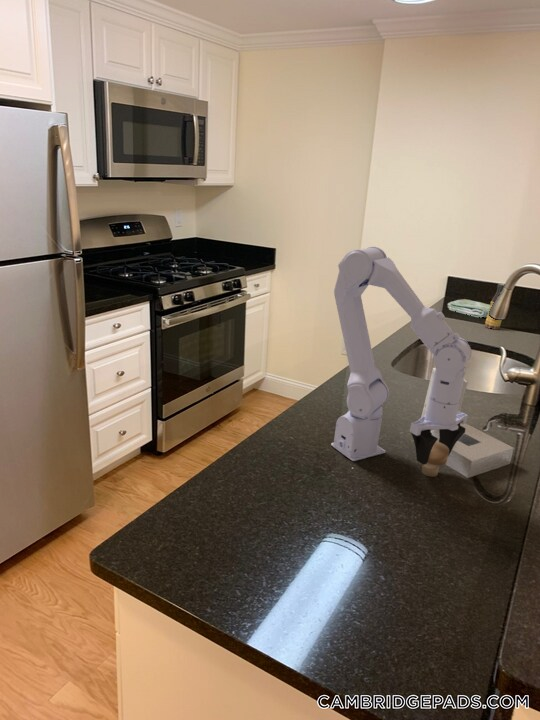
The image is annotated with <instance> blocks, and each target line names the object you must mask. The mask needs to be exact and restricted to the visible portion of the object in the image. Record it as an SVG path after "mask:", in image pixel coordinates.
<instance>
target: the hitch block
mask: <svg viewBox="0 0 540 720" xmlns="http://www.w3.org/2000/svg"><path fill="white" fill-rule="evenodd" d="M460 426H462V427H464V428H465V429H466V430H465V433H464V434H463V435H462V436H461V437H460V438H459V439H458V441H457V442H456V443H455V445H454V447H453V449H452V451H451V452H450V454H449V456H448V459H447V463H446V464H445V465H446V466H447V467H449V468H451V469H452V470H454V471H456V472H457V473H459V474H461V475H462V476H463V477H466V478H467V479H469V478H472V477H474V476H475V477H476V476H479V475H481V474H484V473H487V472H491V471H493V470H496V469H499V468H502V467H504V466H508V465H511V461H512V457H513V453H514V451H515V450H514V449H515V448H514V447H512V446H511V445H509V444H507V443H506V442H503V441H501V440H499V439H497V438H495V437H493V436H491V435H490V434H488V433H486V432H483V431H482V430H479V429H477V428H476V427H473V426H471V425H470V424H468V423H467V422H466V423H465V424H462V423H460ZM430 433H432V435H433V436H434V437H436V438H438V440H437V442H439V429H434V430H431V432H430Z"/></svg>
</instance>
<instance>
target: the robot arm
mask: <svg viewBox="0 0 540 720" xmlns="http://www.w3.org/2000/svg"><path fill="white" fill-rule="evenodd" d="M337 266H338V275H337V278H336V282H335V286H334V289H333V293H334V299H335V304H336V309H337V314H338V318H339V323H340V328H341V333H342V337H343V343H344V348H345V353H346V357H347V361H348V367H349V371H350V375H349V378H348V381H347V384H346V385H347V386H346V387H347V397H346V406H347V408H348V411H347V412H346V413H345V414H344V415H341V416H339V417H338V418H337V420H336V423H335V430H334V437H333V442H331V443H330V445H331V446H332V447H333V448H334V449H336V450H337V451H338V452H339V453H341V454H342V455H343V456H345V457H347V458H348V459H349V460H351V462H357V461H359V460H364V459H367V458H370V457H371V458H372V457H375V456H378V455H382V454H385V453H386V450H385V449H383V447H381V446H379V445H378V444H379V441H380V440H379V439H380V432H381V426H382V421H383V420H382V419H383V414H384V412H383V405H384V404H385V403H386V402H387V401H388V399H389V398H390V391H389V387H388V385H387V384H386V382H385V381H384V379H383V376H382V375H383V374H382V373H381V371H380V370H379V369H378V368H377V367H376V365H375V359H374V355H373V348H372V344H371V339H370V335H369V329H368V324H367V319H366V315H365V311H364V310H365V309H364V304H363V299H362V295H363V294H364V292H365V291H366V289H367V288H368V286H373V287H378V288H383V289H385V290H386V292H387V293H389V295H390V296H391V298H393V299H394V300H395V302H397V304H398V305H399V306H400V307H401V308H402V310H403V311H404V312H405V313H406V314H407V315H408V316H409V317H410V328H411V329H412V330H413V333H415V335H416V336H417V337H418V338H419V340H420V341H421V342H422V343H423V344H424V345H425V347H426V348H427V349H428V350H429V352H430V353H431V354H433V357H432V359H433V364H434V366H435V368H436V369H435V374H434V376H433V381H432V387H431V392H430V397H429V402H428V407H427V413H426V415H424V416H423V417H420V418H418V420H416V421H413V422H411V423H410V427H409V433H410V434H411V436H412V439H413V441H414V445H415V454H416V461H417V462H418V463H420V464H422V466H423V465H425V464H427V462H428V459H429V456H430V452H431V449H432V447H433V445H434V444H435V442H436V441H437V440H438V438H436V437H434V436H433V435H432V433H430V432H431V430H434V429H439V442H440V443H442V444H444V445H446V446H447V447H448V448H449V454H450V452H451V451H452V449H453V447H454V445H455V443H456V442H457V441H458V439H459V438H460V437H461V436H462V435H463V434H464V433H465V430H466V429H465V428H464V427H462V426H460V423H462V424H465V423H466V424H467V421H468V414H466V413H464V412H462V411H461V410H460V412H457V410H458V406H459V401H460V396H461V392H462V387H463V382H464V380H465V378H464V377H465V375H466V365H467V364H468V363H469V361H470V360H471V357H472V348H471V346H470V345H469V342H468V341H467V340H466V339H464V338H462V337H461V335H460V334H459V333H458V332H456V333H455V332H454V331H453V330H452V328H451V327H450V326H449V324H448V323H447V322H446V321H445V320H444V318H445V317H446V316H445V315H444V313H443V312H442V311H439V312H438V311H437V310H436V308H432V307H426V306H425V304H423V302H422V301H421V300H420V298H419V297H418V295H417V294H416V292H415V291H414V290H413V289H412V287H411V286H410V285H409V282H407V280H406V279H405V278H404V277H403V275H402V273H401V272H400V271H399V269H398V267H396V264H395V262H394V261H393V260H392V258H390V257H388V256H387V254H386V253H385V251H384V250H383V249H382V248H380V247H377V246H368V247H366V248H361V249H353V250H350V251H349V252H347V253H346V255H344V256H343V258H342V259H341V261H340V262H339V263H338V265H337ZM449 454H448V456H449Z"/></svg>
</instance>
